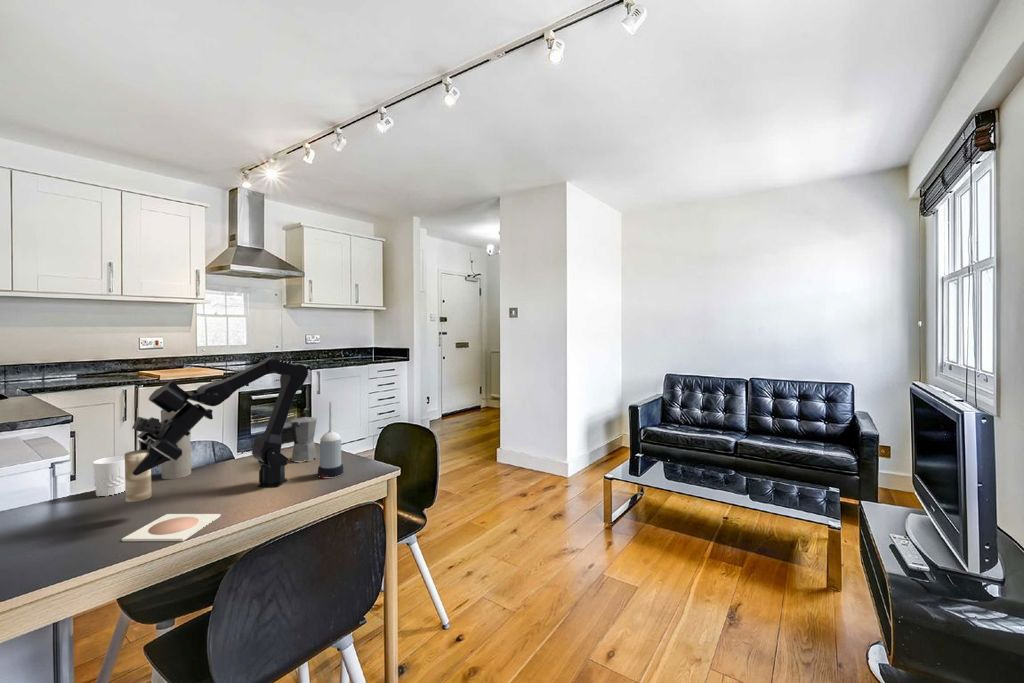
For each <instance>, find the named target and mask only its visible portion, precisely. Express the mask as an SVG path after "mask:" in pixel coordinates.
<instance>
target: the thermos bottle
mask: <svg viewBox="0 0 1024 683" xmlns="http://www.w3.org/2000/svg"><path fill="white" fill-rule="evenodd" d="M178 411H179V410H178ZM178 411H177V412H178ZM177 412H173V411H172V412H170V413H167V412H166V411H164V410H163V409H161V410H160V422H163V421H164V420H165V419H170V418H171V417H173V416H174V415H175V414H176V413H177ZM191 431H192V429H191V430H190V431H189V432H190V434H189V435H188V436H186V435H185V436H184V437H183V438H182V439H181V440H180V441H179V442H178V443H177V444H176V445H178V446H177V447H178V448H180V449H182V455H181V456H180V457H179V458H178V459H177V460H174V459H173V458H171V457H169V459H171V460H170V461H167V462H164V463H162V464H160V466H161V479H164V480H172V479H173V480H175V479H180V478H185V477H187V476H190V475H191V474H192V445H191V437H192V432H191Z"/></svg>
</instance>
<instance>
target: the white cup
mask: <svg viewBox="0 0 1024 683" xmlns="http://www.w3.org/2000/svg"><path fill="white" fill-rule="evenodd" d="M92 469H93V471H92V472H93V481H94V487H95V496H96V497H99V496H105V497H110V496H109V495H112V496H115V495H114V494H117V495H119V494H118V493H120V494H122V493H121V492H123V493H125V492H124V491H125V455H124V456H123V455H119V456H118V455H117V456H110V457H109V456H108V457H103V458H99V459H97V460H94V461H93V462H92Z"/></svg>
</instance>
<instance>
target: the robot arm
mask: <svg viewBox="0 0 1024 683" xmlns="http://www.w3.org/2000/svg"><path fill="white" fill-rule="evenodd" d="M270 373H273V374H277V375H280V377H279V381H280V383H279V384H280V388H279V389H280V390H279V392H278V394H277V395H278V396H277V399H276V400H275V404H274V406H273V410H272V412H271V414H270V417H269V420H268V423H267V425H266V429H265V430H264V432H263V433H262V434H261V435H255V437H254V440H253V441H254V442H253V444H252V445H251V446H250V449H252V450H251V456H252V457H253V458H254V459H255V460H257V462H258V464H259V466H260V468H259V470H258V484H257V487H259V488H261V487H264V488H266V487H269V486H271V487H273V488H275V487H277V486H278V487H279V485H280V486H281V485H282V483H283V484H284V483H285V482H287V481H288V478H286V471H285V470H286V467H285V466H287V464H288V461H289V458H288V457H287V456H285V455H284V454H283V453H282V451H281V450H282V445H283V444H282V433H283V430H284V427H285V424H286V422H287V419H288V416H289V413H290V411H291V408H292V404H293V402H294V400H295V399H294V398H295V396H296V394H297V391H298V390H300V389H301V387H303V385H304V384H305V382H306V379H307V377H308V375H309V370H308V368H307V366H305V365H304V364H301V363H287V362H284V361H280V360H277V359H275V358H269V357H268V358H264V359H262V361H259V362H258V363H256V364H253V365H251V366H249V367H247V368H245V369H244V370H243V369H242V371H239V372H237V373H235V374H233V375H231V376H229V377H227V378H224V379H219V380H216V381H212V382H209V383H206V384H202V385H201V386H199V387H197V389H195V390H189V391H185V390H184V389H183V388H181V387H180V386H179V385H178V384H177V383H175V382H174V381H171V380H169V381H168V382H166V384H163V385H162V386H160V387H158V388H157V389H155V390H154V391H153V392H152V393H151V394H150V395H149V398H148V401H149V402H151V403H152V404H154V405H155V406H157V407H158V408H160V409H161V410H164V411H166V412H167V413H170V412H172V411H173V412H177V411H178V410H179V411H178V412H177V413H176V414H175V415H174V416H173V417H171V418H170V419H165V420H164V421H163V422H161V421H160V419H159V418H155V417H149V418H146V417H142V416H137V418H136V419H135V422H134V423H133V425H132V427H131V429H132V430H133V429H134V431H136V432H140V433H139V434H138V435H137V436H136V437H137V438H139V440H138V444H139V446H138V447H139V449H138V450H147V455H146V456H145V457H144V459H143V460H142V461H141V462H140V464H139V465H138V466H137V467H136V469H135V470H134V471H133V473H132V474H134V475H135V476H137V475H139V474H141V473H143V472H145V471H147V470H149V469H151V470H152V469H153V468H155V467H158V466H161V464H162V463H164V462H167V461H170V460H171V459H169V457H171V458H173V459H174V460H177V459H178V458H179V457H180V456H181V455H182V449H180V448H178V447H177V446H178V445H176V444H177V443H178V442H179V441H180V440H181V439H182V438H183V437H184V436H185V435H186V436H188V435H189V434H190V432H189V431H190V430H191V431H192V429H193V428H194V427H195V426H196V425H197V424H198V423H199V422H201V420H202V419H203V418H206V419H208V420H213V418H214V417H213V411H214V410H213V409H211V408H207V409H206V408H205V407H204V406H209V407H216V406H219V405H221V404H222V403H223V402H225V401H226V400H228V399H229V398H230V397H231V396H232V395H233V394H234V393H235V392H236V391H238V390H239V389H241V388H244V387H245V386H246V385H249V384H251V383H252V382H255V381H257V380H259V379H260V378H262V377H265V376H267V375H269V374H270ZM190 401H193V402H197V403H195V404H193V403H192V402H190ZM202 405H204V406H202ZM286 480H287V481H286ZM271 487H269V488H271ZM278 487H277V488H278Z"/></svg>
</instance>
